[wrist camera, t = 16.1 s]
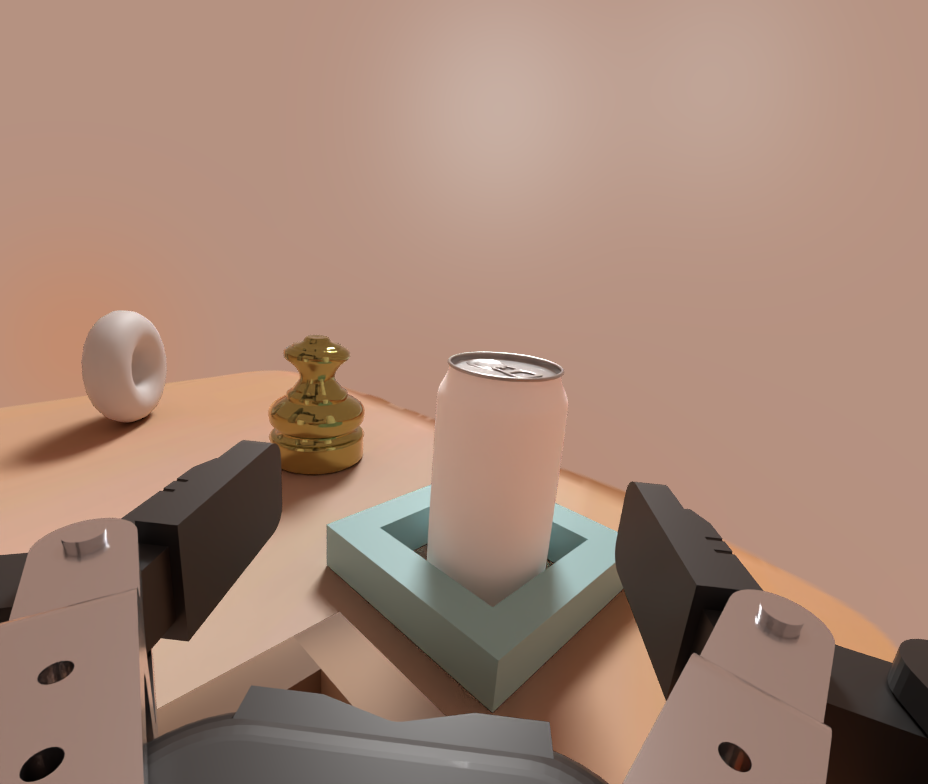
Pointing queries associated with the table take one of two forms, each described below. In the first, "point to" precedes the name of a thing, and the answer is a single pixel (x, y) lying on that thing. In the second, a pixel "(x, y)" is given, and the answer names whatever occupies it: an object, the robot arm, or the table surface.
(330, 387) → the gold tiered piece
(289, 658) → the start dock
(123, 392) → the donut
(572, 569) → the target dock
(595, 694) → the table surface
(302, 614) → the table surface
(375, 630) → the table surface
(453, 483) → the can
